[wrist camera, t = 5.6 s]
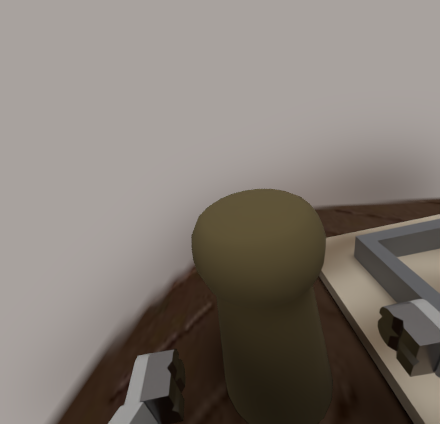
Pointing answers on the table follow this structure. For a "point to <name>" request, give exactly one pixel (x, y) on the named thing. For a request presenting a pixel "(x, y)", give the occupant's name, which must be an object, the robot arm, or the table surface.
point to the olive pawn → (267, 303)
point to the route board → (369, 315)
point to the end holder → (393, 267)
